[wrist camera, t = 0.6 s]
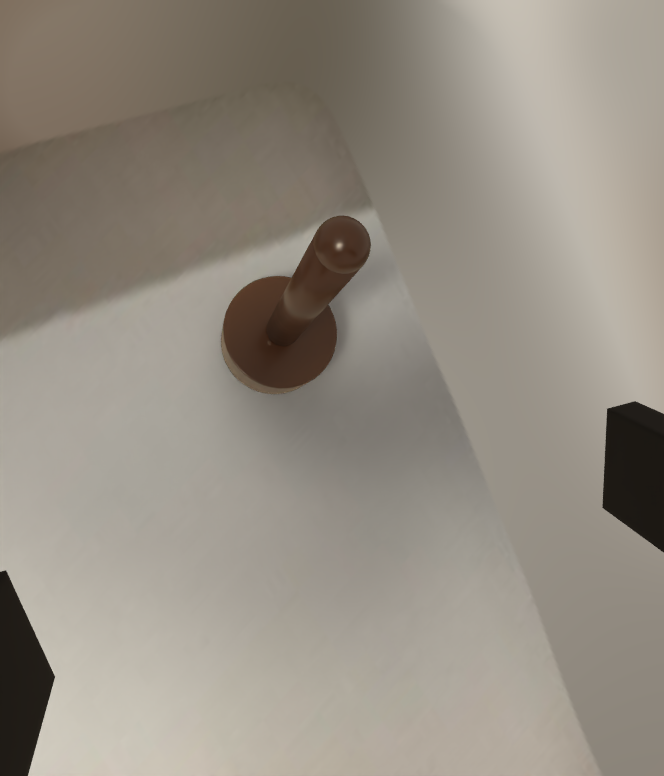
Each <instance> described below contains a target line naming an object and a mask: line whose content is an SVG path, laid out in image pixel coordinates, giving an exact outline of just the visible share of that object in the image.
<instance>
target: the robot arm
mask: <svg viewBox="0 0 664 776" xmlns="http://www.w3.org/2000/svg"><path fill="white" fill-rule="evenodd" d="M604 468H605V469H604V488H603V508H604V509H605V510H606V511H608V512H609V513H610V514H612V515H613V516H615V517H616V518H617V519H619V520H620V521H622V522H623V523H624V524H626V525H627V526H628V527H630V528H631V529H632V530H634V531H635V532H637V533H638V534H639V535H641V536H642V537H643V538H645V539H646V540H648V541H649V542H650V543H652V544H653V545H654V546H656V547H657V548H658V549H660V550H661V551H663V552H664V414H663V413H660V412H658V411H656V410H654V409H651V408H649V407H647V406H645V405H642V404H640V403H638V402H631V403H628V404H623V405H620V406H616V407H612V408H608V409H607V426H606V447H605V467H604ZM54 678H55V676H54V674H53V672H52V669H51V667H50V665H49V663H48V661H47V659H46V656H45V654H44V652H43V650H42V648H41V645H40V643H39V641H38V639H37V637H36V635H35V632H34V630H33V628H32V626H31V624H30V622H29V619H28V617H27V615H26V613H25V611H24V609H23V606H22V604H21V602H20V600H19V598H18V596H17V593H16V591H15V589H14V587H13V585H12V582H11V580H10V578H9V576H8V574H7V572H6V570H5V571H2V572H0V776H28V773H29V769H30V766H31V762H32V758H33V755H34V751H35V748H36V744H37V740H38V737H39V733H40V729H41V726H42V722H43V718H44V715H45V711H46V707H47V704H48V700H49V697H50V693H51V689H52V686H53V682H54Z"/></svg>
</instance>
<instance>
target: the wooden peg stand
mask: <svg viewBox="0 0 664 776" xmlns="http://www.w3.org/2000/svg"><path fill="white" fill-rule="evenodd" d="M370 246H371V242H370V237H369V234H368V232H367V230H366V228H365V227H364V226H363V225H362V224H361V223H360V222H359V221H357V220H356V219H354V218H351V217H349V216H336V217H332V218H330V219H328V220H326V221H325V222H324V223H323V224H322V225H321V226H320V227H319V228H318V230H317V232H316V234H315V235H314V237H313V239H312V241H311V243H310V245H309V247H308V248H307V250H306V252H305V254H304V256H303V258H302V260H301V261H300V263H299V265H298V267H297V269H296V271H295V273H294V274H293V276H292V278H290V277H285V276H272V277H266V278H261V279H259V280H256V281H254V282H252V283H250V284H248V285H247V286H245V287H244V288H243V289H242V290H240V291H239V292H238V293H237V295H236V296H235V297H234V298H233V300H232V301H231V303H230V305H229V307H228V309H227V311H226V314H225V318H224V323H223V329H222V335H221V347H222V353H223V357H224V360H225V362H226V364H227V366H228V368H229V369H230V371H231V372H232V374H233V375H234V376H235V377H236V378H237V379H238V380H239V381H240V382H241V383H243V384H244V385H245V386H247V387H249V388H251V389H253V390H256V391H258V392H262V393H267V394H282V393H287V392H291V391H293V390H296V389H298V388H300V387H301V386H303V385H305V384H306V383H308V382H310V381H311V380H313V379H315V378H316V377H317V376H318V375H320V374H321V372H322V371H323V370H324V369H325V368H326V367H327V365H328V364H329V362H330V360H331V358H332V356H333V354H334V351H335V347H336V341H337V328H336V322H335V319H334V315H333V313H332V311H331V308H330V307H329V305H328V304H329V303H330V302H331V301H332V300H333V299H334V297H335V296H336V295H337V294H338V293H339V292H340V291H341V290H342V289H343V287H344V286H345V285H346V284H347V283H348V282H349V281H350V280H351V279H352V277H353V276H354V275H355V274H356V273H357V272H358V271H359V270H360V268H361V267H362V266H363V265H364V264H365V262H366V261H367V259H368V257H369V254H370Z"/></svg>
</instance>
